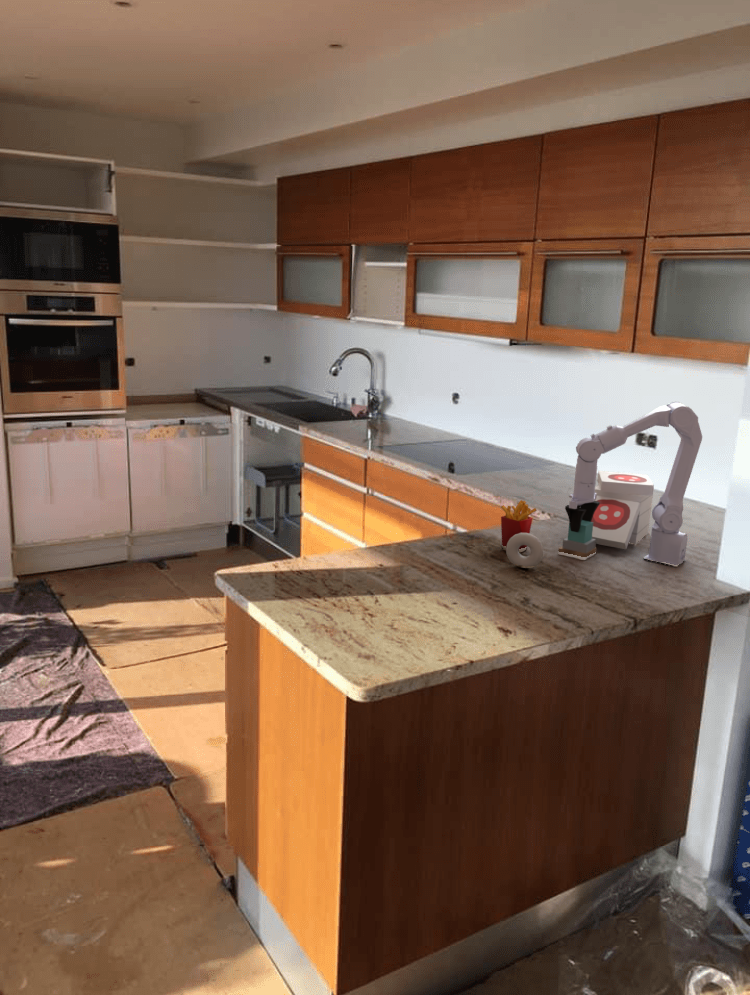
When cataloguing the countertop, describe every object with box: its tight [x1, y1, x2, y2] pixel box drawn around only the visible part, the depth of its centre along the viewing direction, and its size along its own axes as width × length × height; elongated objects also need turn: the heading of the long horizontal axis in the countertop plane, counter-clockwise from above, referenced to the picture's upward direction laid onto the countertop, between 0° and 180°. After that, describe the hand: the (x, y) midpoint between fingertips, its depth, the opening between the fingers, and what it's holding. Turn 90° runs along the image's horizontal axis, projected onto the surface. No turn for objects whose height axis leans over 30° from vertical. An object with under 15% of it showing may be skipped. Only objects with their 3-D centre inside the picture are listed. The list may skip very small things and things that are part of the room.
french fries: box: [500, 499, 537, 549], centre depth 237 cm, size 9×8×15 cm
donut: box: [505, 533, 544, 567], centre depth 223 cm, size 10×4×10 cm, turn 68°
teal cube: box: [567, 520, 593, 543], centre depth 236 cm, size 5×5×5 cm
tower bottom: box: [557, 545, 597, 557], centre depth 238 cm, size 8×8×2 cm
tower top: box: [561, 536, 597, 553], centre depth 237 cm, size 7×7×2 cm
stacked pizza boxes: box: [591, 470, 655, 550], centre depth 252 cm, size 19×30×18 cm, turn 149°
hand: (580, 528), depth 236 cm, fingers open, 7 cm apart
